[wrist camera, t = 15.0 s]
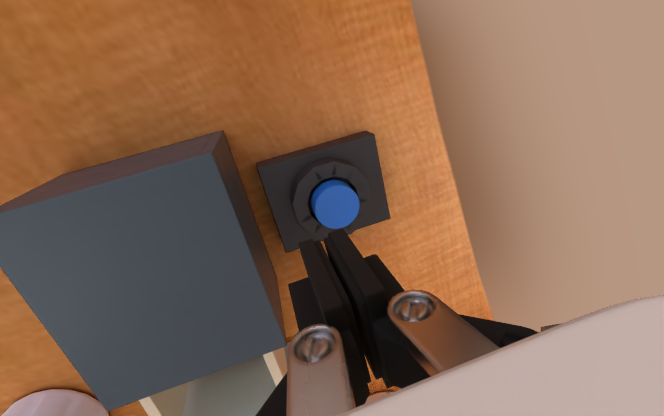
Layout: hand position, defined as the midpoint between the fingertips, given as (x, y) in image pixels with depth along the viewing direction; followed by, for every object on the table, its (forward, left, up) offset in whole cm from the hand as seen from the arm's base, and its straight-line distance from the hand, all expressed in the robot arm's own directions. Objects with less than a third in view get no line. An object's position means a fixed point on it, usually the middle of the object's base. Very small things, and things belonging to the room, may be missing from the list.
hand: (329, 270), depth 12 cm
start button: (+3, -4, -15) cm, 16 cm away
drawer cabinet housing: (-10, -4, -19) cm, 22 cm away
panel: (+3, -4, -19) cm, 19 cm away
